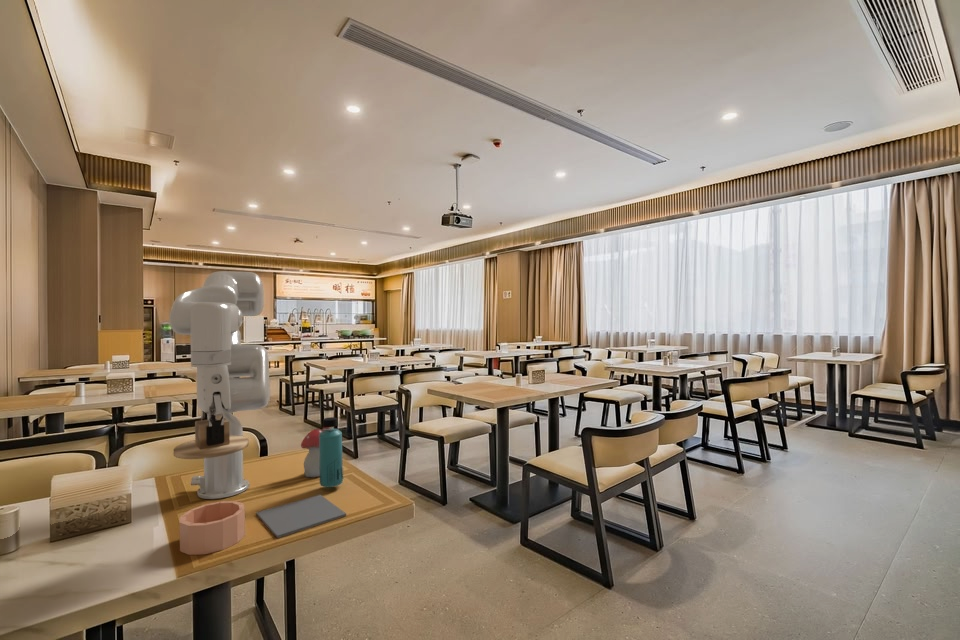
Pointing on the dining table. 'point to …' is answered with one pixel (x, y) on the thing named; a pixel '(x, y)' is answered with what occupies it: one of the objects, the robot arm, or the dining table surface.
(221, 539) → the bowl
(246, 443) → the lid
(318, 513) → the mat
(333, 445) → the beverage bottle
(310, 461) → the decorative ornament
